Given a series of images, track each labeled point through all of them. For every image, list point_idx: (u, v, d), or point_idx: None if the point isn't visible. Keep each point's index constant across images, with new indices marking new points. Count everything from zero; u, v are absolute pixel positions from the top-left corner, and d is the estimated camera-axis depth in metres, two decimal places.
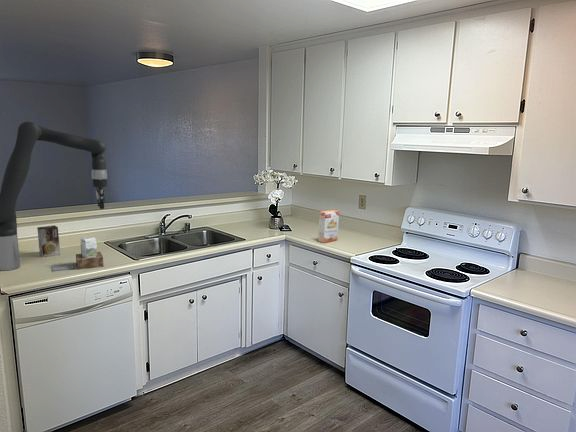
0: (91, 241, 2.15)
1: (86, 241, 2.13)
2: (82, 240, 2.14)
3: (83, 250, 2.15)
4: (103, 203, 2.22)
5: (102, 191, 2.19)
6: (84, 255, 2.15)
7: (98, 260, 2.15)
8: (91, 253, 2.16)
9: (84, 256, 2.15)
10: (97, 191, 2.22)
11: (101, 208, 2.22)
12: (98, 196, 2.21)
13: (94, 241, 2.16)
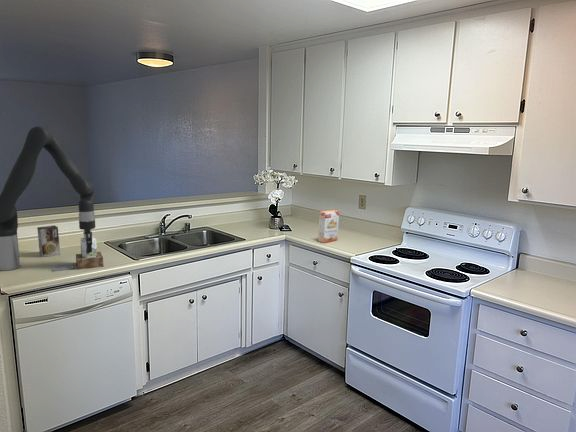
0: None
1: None
2: (82, 240, 2.14)
3: (83, 250, 2.15)
4: (91, 246, 2.14)
5: (89, 235, 2.10)
6: (84, 255, 2.15)
7: (98, 260, 2.15)
8: (91, 253, 2.16)
9: (84, 256, 2.15)
10: (84, 234, 2.13)
11: (89, 252, 2.14)
12: (85, 239, 2.12)
13: (94, 241, 2.16)
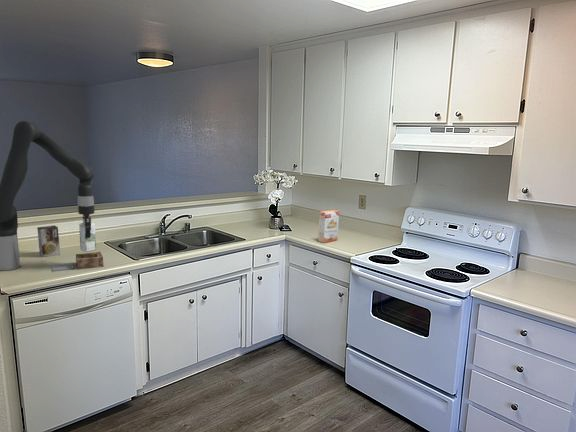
0: None
1: None
2: (81, 225, 2.13)
3: (82, 235, 2.13)
4: (89, 231, 2.12)
5: (88, 220, 2.08)
6: (83, 240, 2.13)
7: (98, 260, 2.15)
8: (90, 238, 2.14)
9: (83, 241, 2.13)
10: (83, 219, 2.12)
11: (87, 237, 2.12)
12: (84, 224, 2.11)
13: (93, 226, 2.14)
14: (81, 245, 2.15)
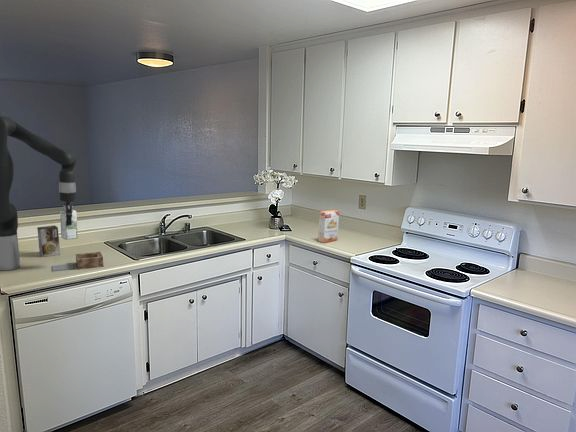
0: None
1: None
2: (62, 212, 2.08)
3: (63, 222, 2.08)
4: (70, 219, 2.07)
5: (69, 207, 2.03)
6: (64, 228, 2.08)
7: (98, 260, 2.15)
8: (71, 226, 2.09)
9: (64, 229, 2.08)
10: (64, 205, 2.07)
11: (68, 224, 2.07)
12: (65, 211, 2.06)
13: (74, 214, 2.09)
14: (62, 233, 2.10)
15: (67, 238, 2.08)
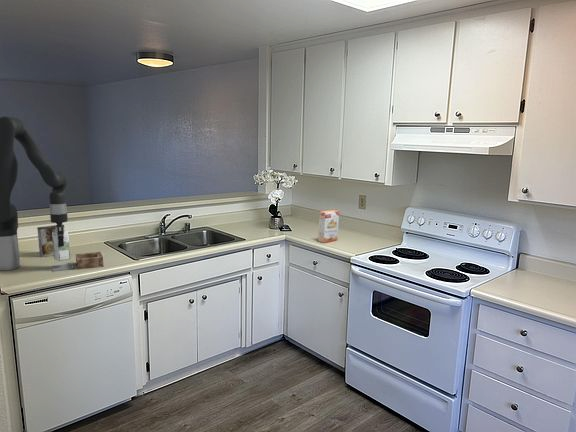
0: None
1: None
2: (53, 234, 2.07)
3: (55, 244, 2.08)
4: (62, 240, 2.07)
5: (61, 228, 2.03)
6: (56, 249, 2.08)
7: (98, 260, 2.15)
8: (63, 247, 2.09)
9: (56, 250, 2.08)
10: (56, 227, 2.06)
11: (60, 245, 2.07)
12: (57, 233, 2.05)
13: (66, 234, 2.09)
14: (55, 254, 2.10)
15: (60, 259, 2.08)
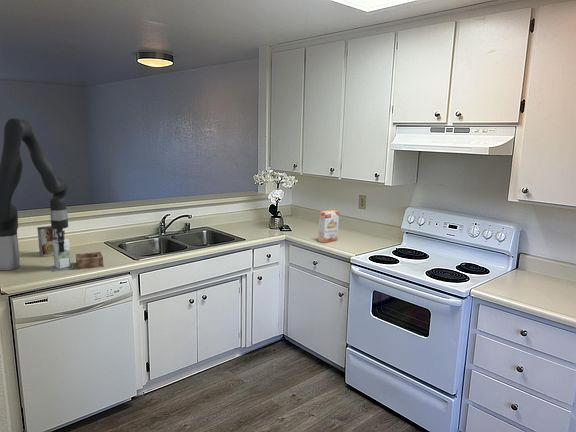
0: None
1: None
2: (54, 241, 2.08)
3: (55, 251, 2.08)
4: (63, 246, 2.07)
5: (61, 233, 2.03)
6: (56, 257, 2.08)
7: (98, 260, 2.15)
8: (63, 255, 2.09)
9: (56, 258, 2.09)
10: (56, 233, 2.07)
11: (61, 251, 2.07)
12: (57, 238, 2.06)
13: (67, 242, 2.09)
14: (55, 262, 2.10)
15: (60, 267, 2.09)
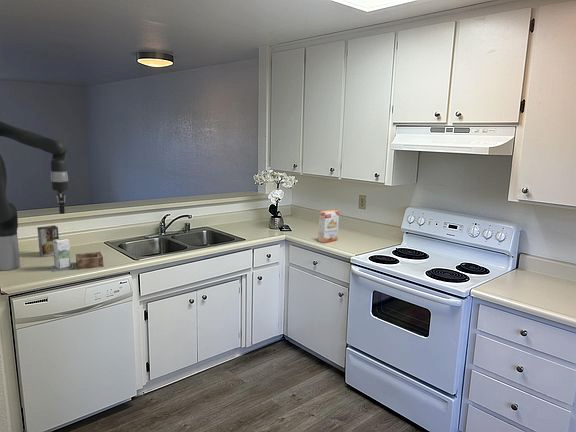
0: (63, 242, 2.08)
1: (58, 242, 2.06)
2: (54, 241, 2.08)
3: (55, 251, 2.08)
4: (63, 207, 2.07)
5: (61, 195, 2.03)
6: (56, 257, 2.08)
7: (98, 260, 2.15)
8: (63, 255, 2.09)
9: (56, 258, 2.09)
10: (57, 194, 2.07)
11: (61, 213, 2.07)
12: (58, 200, 2.06)
13: (67, 242, 2.09)
14: (55, 262, 2.10)
15: (60, 267, 2.09)
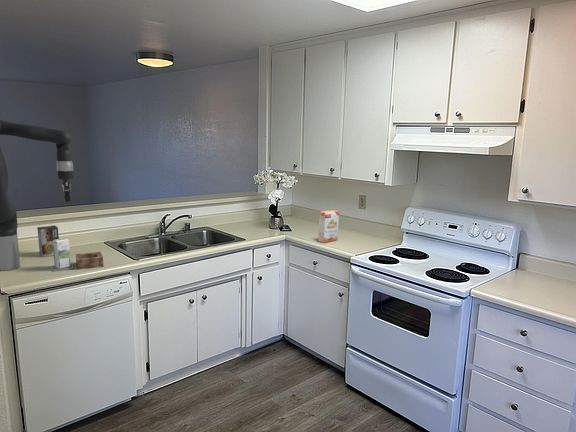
0: (63, 242, 2.08)
1: (58, 242, 2.06)
2: (54, 241, 2.08)
3: (55, 251, 2.08)
4: (69, 196, 2.14)
5: (67, 183, 2.11)
6: (56, 257, 2.08)
7: (98, 260, 2.15)
8: (63, 255, 2.09)
9: (56, 258, 2.09)
10: (62, 183, 2.14)
11: (67, 201, 2.14)
12: (63, 188, 2.13)
13: (67, 242, 2.09)
14: (55, 262, 2.10)
15: (60, 267, 2.09)
